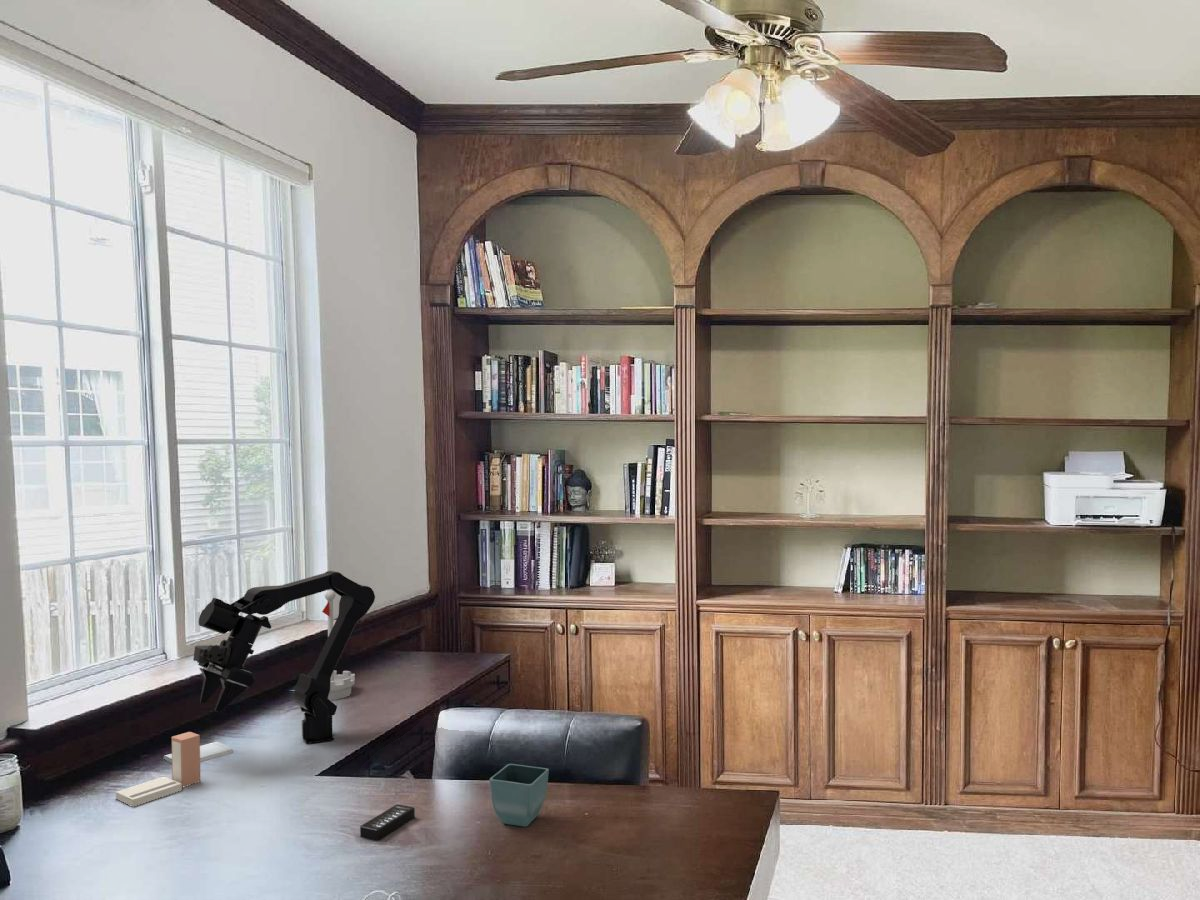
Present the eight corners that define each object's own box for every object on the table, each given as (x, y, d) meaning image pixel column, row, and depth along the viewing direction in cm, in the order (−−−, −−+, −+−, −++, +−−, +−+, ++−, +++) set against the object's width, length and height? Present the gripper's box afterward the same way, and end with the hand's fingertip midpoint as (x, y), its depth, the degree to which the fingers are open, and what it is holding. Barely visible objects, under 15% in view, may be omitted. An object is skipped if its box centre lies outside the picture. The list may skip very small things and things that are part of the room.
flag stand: (320, 687, 262) (318, 586, 261) (362, 689, 260) (360, 586, 260) (299, 700, 249) (297, 594, 248) (343, 702, 247) (341, 594, 247)
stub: (190, 777, 192) (189, 731, 192) (200, 781, 190) (199, 735, 190) (172, 783, 189) (171, 736, 189) (182, 787, 186) (181, 740, 186)
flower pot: (550, 814, 171) (550, 767, 171) (532, 833, 163) (531, 784, 162) (509, 808, 174) (508, 762, 174) (488, 827, 165) (488, 779, 165)
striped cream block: (167, 782, 189) (166, 775, 189) (184, 789, 185) (184, 782, 185) (115, 799, 181) (115, 791, 181) (133, 807, 177) (132, 799, 177)
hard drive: (179, 763, 198) (233, 747, 208) (163, 755, 203) (216, 740, 213) (180, 770, 198) (233, 754, 208) (163, 762, 203) (216, 747, 213)
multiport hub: (359, 838, 162) (359, 826, 162) (397, 815, 172) (397, 803, 172) (378, 843, 160) (378, 830, 160) (415, 819, 170) (415, 807, 170)
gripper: (193, 623, 205) (161, 689, 201) (224, 635, 192) (190, 706, 187) (237, 638, 212) (207, 702, 207) (269, 651, 199) (238, 720, 194)
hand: (209, 707), depth 199 cm, fingers open, 9 cm apart
